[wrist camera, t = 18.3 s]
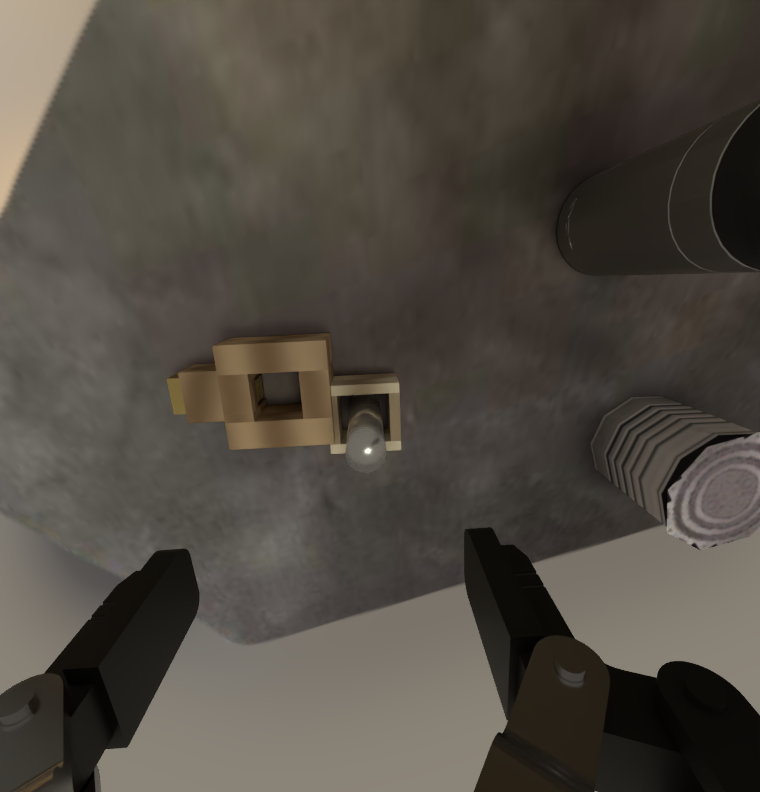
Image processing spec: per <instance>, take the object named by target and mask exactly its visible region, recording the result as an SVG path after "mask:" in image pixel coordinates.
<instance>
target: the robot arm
mask: <svg viewBox="0 0 760 792" xmlns="http://www.w3.org/2000/svg"><path fill="white" fill-rule="evenodd" d="M557 239H558V243H559V248H560V250H561V252H562V255H563V257H564V258H565V259H566V261H567V262H568V263H569V265H571V266H572V267H573V268H575V269H576V270H577V271H580V272H582V273H584V274H588V275H594V276H600V275H658V274H703V273H737V272H760V100H758V101H756V102H753V103H751V104H749V105H747V106H745V107H743V108H740V109H738V110H736V111H734V112H732V113H729V114H728V115H726V116H723V117H721V118H719V119H717V120H715V121H713V122H710V123H708V124H706V125H704V126H702V127H699V128H697V129H695V130H693V131H691V132H688V133H686V134H684V135H682V136H680V137H678V138H675V139H673V140H671V141H669V142H667V143H664V144H662V145H660V146H658V147H656V148H653V149H651V150H649V151H647V152H645V153H642V154H640V155H638V156H636V157H634V158H632V159H629V160H627V161H625V162H622V163H620V164H618V165H616V166H614V167H611V168H609V169H607V170H605V171H603V172H601V173H598V174H596V175H594V176H592V177H590V178H588V179H586V180H585V181H584V182H582V183H581V184H580V185H579V186H577V187H576V188H575V190H574V191H573V192H572V193H571V194H570V195H569V197H568V198H567V200H566V202H565V204H564V205H563V208H562V210H561V213H560V216H559V220H558V226H557ZM464 575H465V585H466V590H467V595H468V598H469V601H470V605H471V607H472V611H473V614H474V617H475V621H476V624H477V627H478V630H479V633H480V636H481V639H482V643H483V646H484V649H485V652H486V656H487V659H488V662H489V665H490V668H491V672H492V675H493V678H494V681H495V684H496V687H497V691H498V694H499V697H500V700H501V703H502V707H503V710H504V713H505V716H506V719H507V720H508V723H507V725H506V728H505V730H504V732H503V733H500V732H499V733H498V734H497V735H496V736H495V738H494V740H493V742H492V745H491V747H490V750H489V752H488V755H487V758H486V760H485V763H484V766H483V768H482V771H481V774H480V776H479V779H478V782H477V784H476V787H475V790H474V792H594V791H598V792H760V715H759V714H758V713H757V712H756V711H755V709H754V708H753V707H752V706H751V704H750V703H749V702H748V701H747V700H746V699H745V697H744V696H743V695H742V694H741V693H740V692H739V691H738V690H737V689H736V688H735V687H734V686H733V685H731V684H730V683H729V682H728V681H726V680H725V679H724V678H722V677H721V676H719V675H718V674H716V673H714V672H712V671H711V670H709V669H707V668H704V667H702V666H699V665H696V664H693V663H689V662H684V661H673V662H669V663H666V664H664V665H663V666H662V667H661V668H660V669H659V671H658V675H657V678H655V677H651V676H646V675H642V674H637V673H633V672H629V671H624V670H621V669H617V668H614V667H611V666H609V665H606V664H605V663H604V662H603V661H602V660H601V658H600V657H599V656H598V655H597V654H596V653H595V652H594V651H593V650H592V649H591V648H589V647H588V646H587V645H585V644H583V643H582V642H580V641H578V640H576V639H575V638H574V636H573V635H572V633H571V631H570V629H569V628H568V626H567V624H566V623H565V621H564V619H563V617H562V616H561V614H560V612H559V610H558V609H557V607H556V605H555V603H554V602H553V600H552V598H551V597H550V595H549V593H548V591H547V590H546V588H545V587H544V586H543V583H542V581H541V579H540V577H539V576H538V575H537V574H536V570H535V569H534V567H533V565H532V564H531V562H530V560H529V558H528V557H527V556H526V555H525V554H524V553H523V552H521V551H520V550H519V549H518V548H516V547H515V546H514V545H500V543H499V541H498V539H497V537H496V535H495V533H494V531H493V529H492V528H491V527H488V528H475V529H465V533H464ZM198 606H199V589H198V585H197V581H196V577H195V573H194V569H193V565H192V561H191V557H190V553H189V551H188V550H187V549H173V550H160V551H156V552H155V553H154V554H153V555H152V557H151V558H150V559H149V560H148V562H147V563H146V564H145V565H144V567H143V568H142V569H141V571H135V572H134V573H133V574H131V575H130V576H129V577H127V578H126V579H125V580H123V581H122V582H121V583H120V584H118V585H117V586H116V587H115V588H114V590H113V591H112V592H111V593H110V595H109V596H108V597H107V598H106V599H105V600H104V602H103V605H102V606H99V608H98V609H97V610H96V611H95V613H94V614H93V615H92V618H91V620H88V621H87V622H86V623H85V625H84V626H83V627H82V628H81V629H80V631H79V632H78V633H77V634H76V635H75V637H74V638H73V639H72V641H71V642H70V643H69V644H68V645H67V646H66V648H65V649H64V650H63V651H62V652H61V654H60V655H59V656H58V657H57V659H56V660H55V661H54V662H53V663H52V665H51V666H50V667H49V668H48V669H47V670H46V672H45V673H44V674H41V675H36V676H33V677H30V678H28V679H26V680H24V681H21V682H20V683H18V684H16V685H14V686H12V687H11V688H10V689H8V690H6V691H5V692H4V693H2V694H1V695H0V792H101V785H100V774H99V769H98V767H97V763H98V761H99V760H100V758H101V756H102V754H103V752H104V750H105V749H113V748H126V747H128V745H129V744H130V742H131V740H132V737H133V736H134V734H135V732H136V730H137V728H138V726H139V724H140V722H141V720H142V718H143V716H144V715H145V713H146V711H147V709H148V707H149V705H150V703H151V701H152V699H153V697H154V695H155V693H156V691H157V689H158V687H159V686H160V684H161V682H162V680H163V678H164V676H165V674H166V672H167V670H168V668H169V666H170V664H171V662H172V660H173V659H174V656H175V654H176V653H177V651H178V649H179V647H180V645H181V643H182V641H183V639H184V637H185V635H186V633H187V631H188V629H189V627H190V626H191V624H192V622H193V620H194V618H195V616H196V613H197V610H198Z"/></svg>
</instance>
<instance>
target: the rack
mask: <svg viewBox="0 0 760 792" xmlns="http://www.w3.org/2000/svg"><path fill="white" fill-rule="evenodd" d="M384 393H387V405H388V427H383V430H384V437H385V445H386V451H393V450H401V429H400V395H399V381H398V378H397V375H396V373H386V374H366V375H347V376H334V377H333V380H332V384H331V396H332V408H333V420H334V432H335V444H330V445H331V454H340V453H345V452H346V443H347V433H348V429H343V427H342V414H341V401H340V396H346V395H365V394H384Z"/></svg>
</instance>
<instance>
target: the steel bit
mask: <svg viewBox="0 0 760 792" xmlns="http://www.w3.org/2000/svg"><path fill="white" fill-rule="evenodd" d="M345 456H346V460H347V462H348V464H349V465H350V467H351V468H353V469H354V470H356V471H358V472H362V473H370V472H373V471H376V470H378V469H379V468H380V467H381V466H382V465H383V464H384V462H385V460H386V456H387V452H386V445H385V437H384V430H383V423H382V415H381V408H380V402H379V400H378V398H377V397H376V396H375V395H374V394H365V395H355V396H354V397H353V399H352V400H351V404H350V413H349V423H348V433H347V443H346V452H345Z"/></svg>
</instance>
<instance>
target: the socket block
mask: <svg viewBox="0 0 760 792" xmlns="http://www.w3.org/2000/svg"><path fill="white" fill-rule="evenodd" d="M212 349H213V354H214V360H215V363H210V364H194V365H192V366H190V367H188V368H186V369H184V370H182V371H180V372H178V376H179V381H180V386H181V391H182V396H183V401H184V406H185V411H186V416H187V421H188V423H202V422H220V421H225V425H226V431H227V437H228V443H229V449H230V450H236V449H254V448H272V447H289V446H307V445H325V444H335V432H334V420H333V408H332V396H331V384H332V380H333V377H334V372H333V360H332V347H331V335H330V333H320V334H300V335H279V336H258V337H238V338H229V339H227V340H225V341H222V342H220V343H218V344H215V345H213V346H212ZM278 372H299V382H300V391H301V401H302V404H283V405H267V402H266V398H262V399H261V400H260V401H258V399H257V392H256V385H255V378H254V377H255V376H257V375H258V374H259V373H278Z"/></svg>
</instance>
